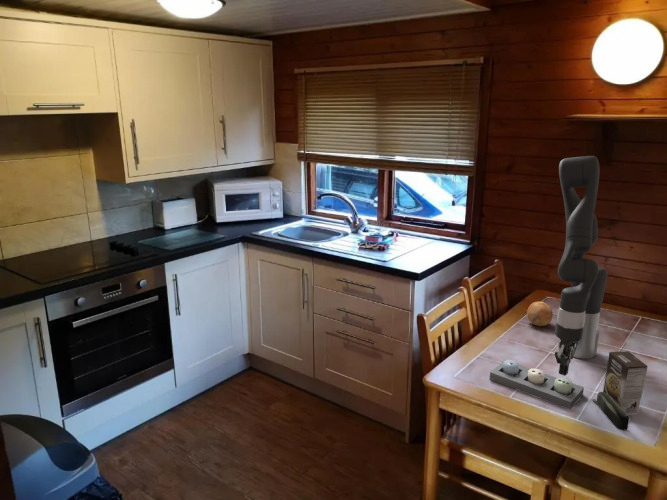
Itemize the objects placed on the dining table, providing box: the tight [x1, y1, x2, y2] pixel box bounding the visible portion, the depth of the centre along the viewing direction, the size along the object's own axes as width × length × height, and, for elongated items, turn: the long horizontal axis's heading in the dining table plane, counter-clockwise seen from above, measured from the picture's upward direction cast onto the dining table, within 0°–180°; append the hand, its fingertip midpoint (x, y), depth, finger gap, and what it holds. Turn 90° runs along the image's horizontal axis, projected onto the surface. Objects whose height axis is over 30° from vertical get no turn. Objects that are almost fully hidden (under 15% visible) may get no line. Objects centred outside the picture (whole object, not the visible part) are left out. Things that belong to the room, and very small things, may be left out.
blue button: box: [502, 359, 520, 377], centre depth 173 cm, size 5×5×3 cm
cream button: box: [527, 368, 546, 386], centre depth 167 cm, size 5×5×3 cm
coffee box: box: [602, 350, 648, 415], centre depth 155 cm, size 9×6×16 cm
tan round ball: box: [526, 301, 554, 327], centre depth 211 cm, size 10×10×10 cm
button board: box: [489, 359, 585, 410], centre depth 168 cm, size 26×11×2 cm, turn 47°
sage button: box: [554, 377, 573, 396], centre depth 162 cm, size 5×5×3 cm
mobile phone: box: [592, 391, 630, 431], centre depth 152 cm, size 5×3×15 cm
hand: (563, 374), depth 161 cm, fingers closed
